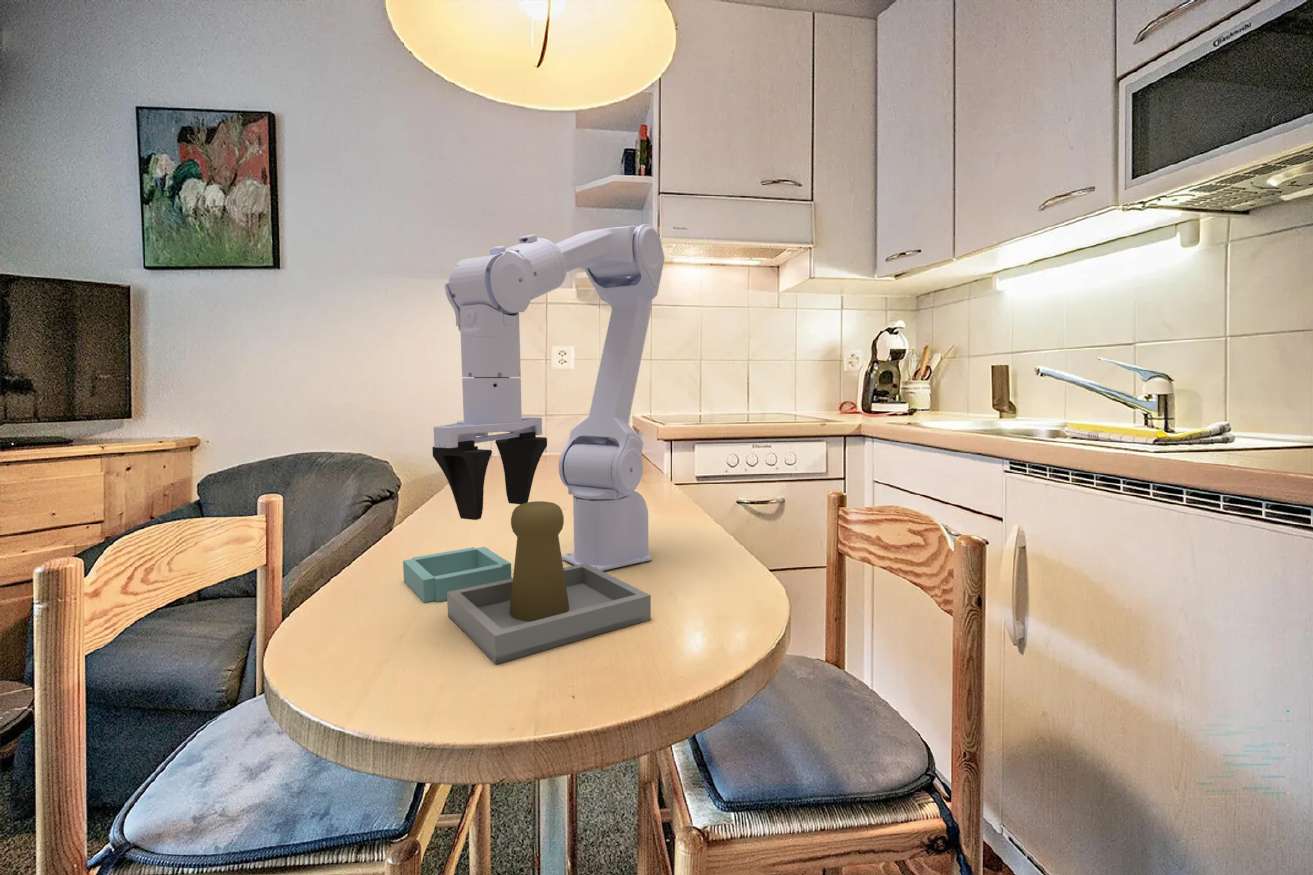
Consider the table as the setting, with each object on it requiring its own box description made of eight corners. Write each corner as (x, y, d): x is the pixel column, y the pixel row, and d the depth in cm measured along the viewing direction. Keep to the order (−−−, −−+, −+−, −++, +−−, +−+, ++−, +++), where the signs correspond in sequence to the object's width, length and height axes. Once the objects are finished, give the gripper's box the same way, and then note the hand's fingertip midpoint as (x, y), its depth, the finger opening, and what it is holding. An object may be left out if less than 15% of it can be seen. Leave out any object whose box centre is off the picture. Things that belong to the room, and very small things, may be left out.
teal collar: (483, 564, 78) (482, 545, 78) (513, 585, 70) (513, 564, 70) (402, 579, 72) (401, 559, 72) (425, 604, 64) (424, 581, 64)
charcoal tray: (586, 583, 70) (585, 563, 70) (650, 619, 60) (650, 595, 60) (447, 615, 61) (447, 591, 61) (495, 664, 51) (494, 635, 50)
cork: (575, 616, 59) (573, 506, 58) (513, 625, 57) (510, 511, 56) (562, 595, 65) (560, 495, 64) (505, 603, 63) (502, 499, 62)
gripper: (504, 378, 69) (507, 495, 70) (406, 378, 56) (412, 522, 57) (557, 378, 66) (559, 499, 67) (466, 378, 53) (471, 529, 54)
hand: (495, 510), depth 62 cm, fingers open, 7 cm apart
